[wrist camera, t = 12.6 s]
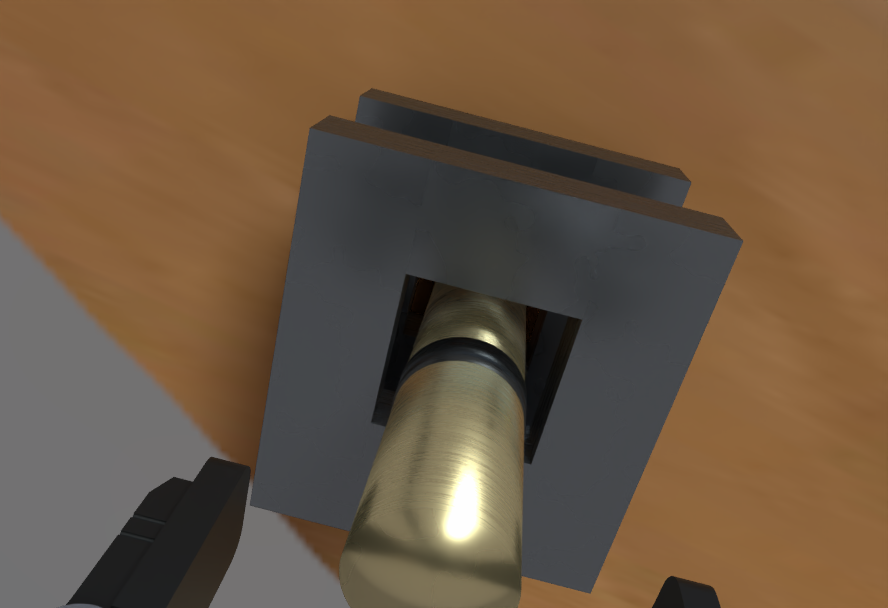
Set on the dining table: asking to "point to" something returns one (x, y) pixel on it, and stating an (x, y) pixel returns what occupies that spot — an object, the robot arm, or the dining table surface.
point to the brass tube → (448, 467)
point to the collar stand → (495, 274)
